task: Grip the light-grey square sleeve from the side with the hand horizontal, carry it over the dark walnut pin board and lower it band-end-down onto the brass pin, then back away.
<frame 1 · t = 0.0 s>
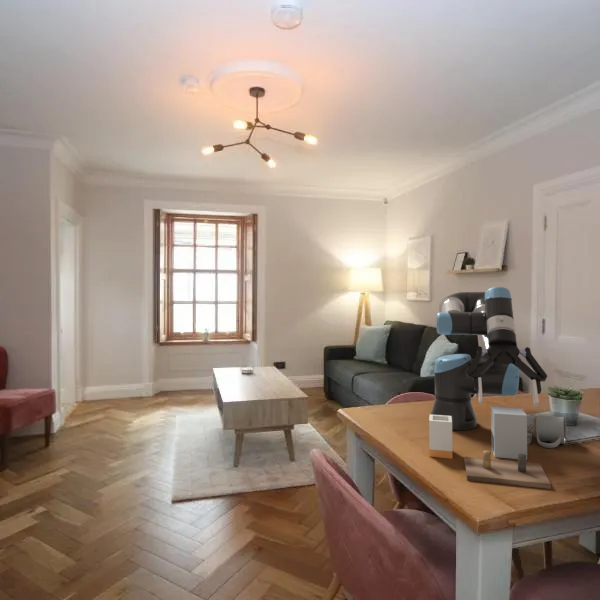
hand: (508, 403, 117), 15 cm above the table, tool tilted 35°, fingers open, 13 cm apart
pin board: (504, 474, 109), on the table
ceramic mug: (550, 443, 130), on the table
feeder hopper: (508, 453, 122), on the table
sleeve: (440, 453, 123), on the table
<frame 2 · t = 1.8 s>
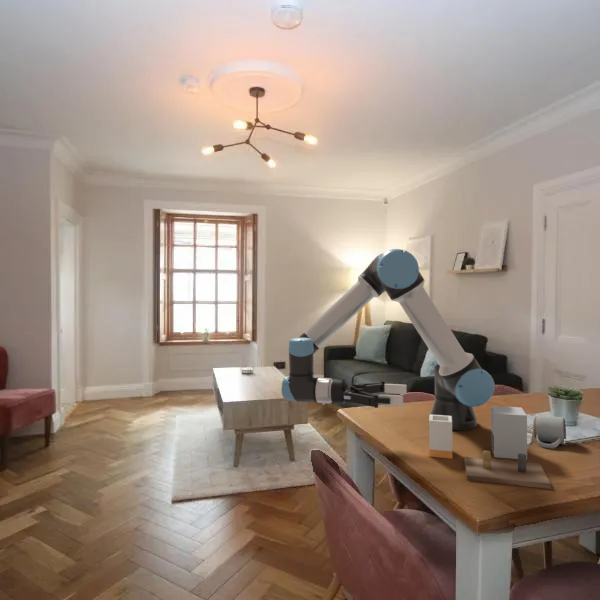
hand: (404, 394, 125), 16 cm above the table, tool horizontal, fingers open, 13 cm apart
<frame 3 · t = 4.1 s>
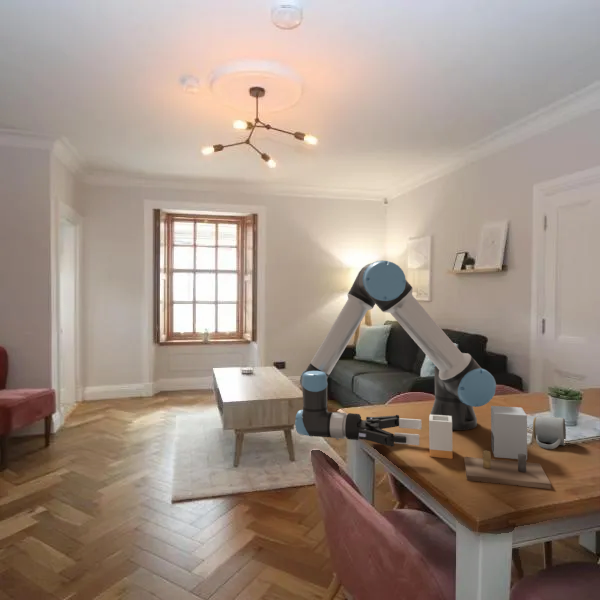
hand: (420, 431, 124), 6 cm above the table, tool horizontal, fingers open, 13 cm apart
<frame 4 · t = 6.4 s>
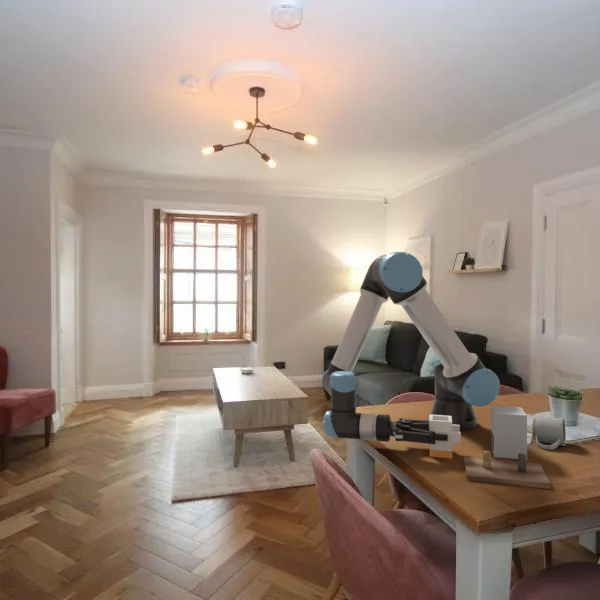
hand: (460, 433, 121), 6 cm above the table, tool horizontal, fingers closed on sleeve, 6 cm apart
sleeve: (440, 453, 123), on the table, touching gripper
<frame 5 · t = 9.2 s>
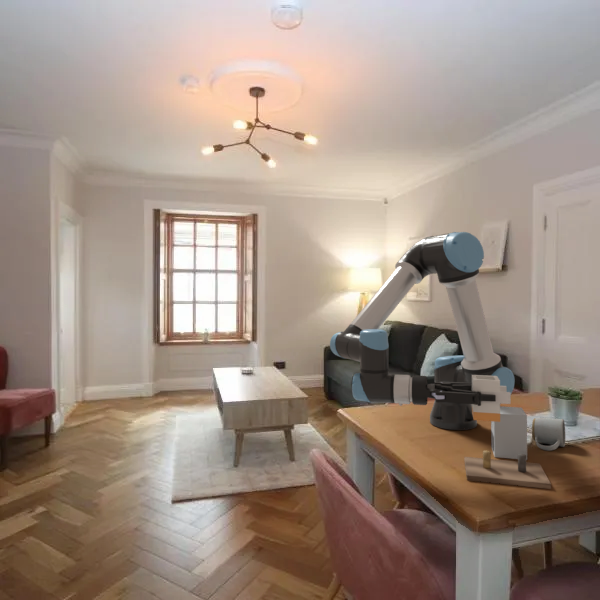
hand: (508, 394, 108), 20 cm above the table, tool horizontal, fingers closed on sleeve, 6 cm apart
sleeve: (485, 417, 110), point 14 cm above the table, touching gripper
when the fingers open (9 cm above the table, at t = 12.1 s): sleeve drops 1 cm, resting on pin board.
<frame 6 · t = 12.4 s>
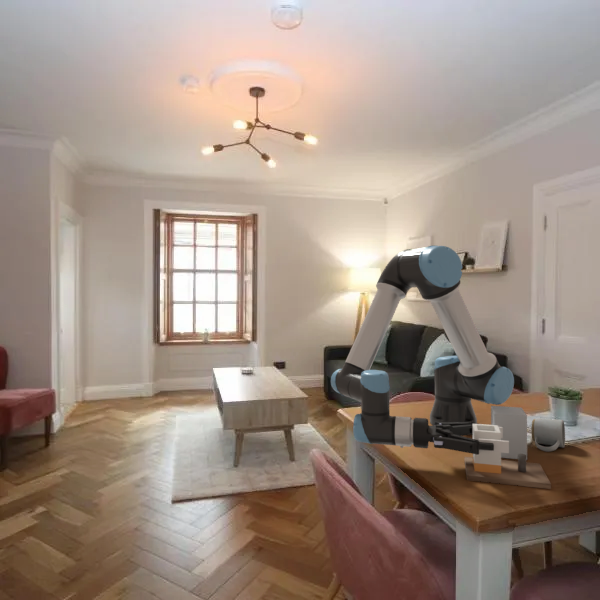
hand: (505, 439, 109), 9 cm above the table, tool horizontal, fingers open, 10 cm apart
sleeve: (486, 467, 110), point 1 cm above the table, touching pin board
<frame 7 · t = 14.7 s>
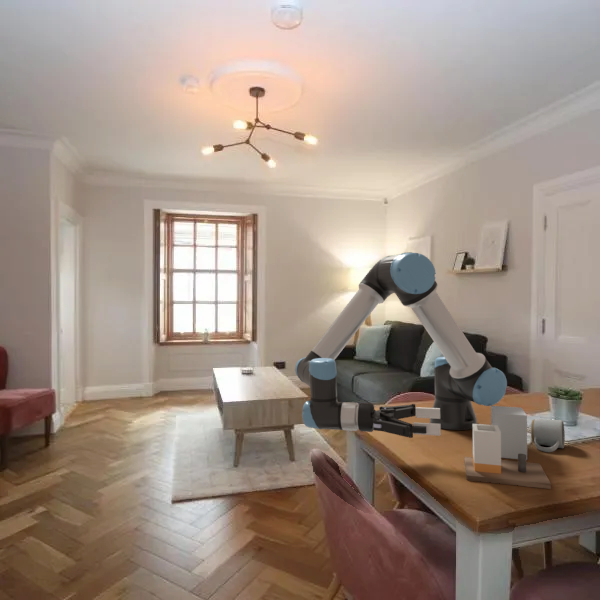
hand: (440, 421, 113), 12 cm above the table, tool horizontal, fingers open, 13 cm apart
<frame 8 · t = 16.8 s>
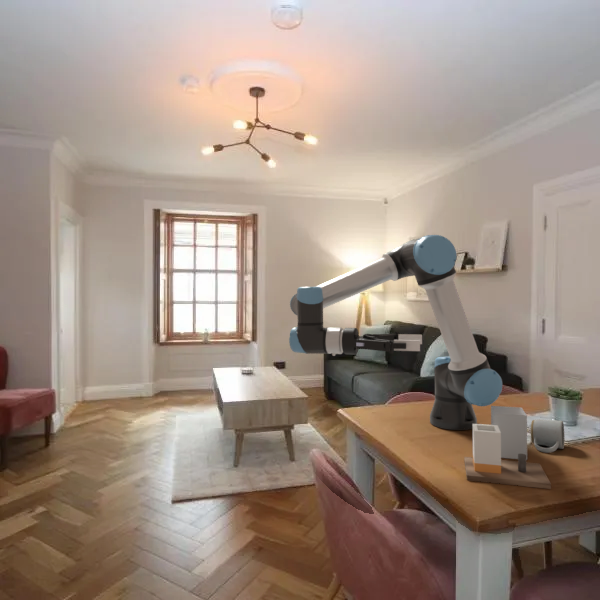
hand: (421, 342, 118), 32 cm above the table, tool horizontal, fingers open, 13 cm apart
at the end: sleeve 0.1 cm from the target spot on the pin board, point 1.2 cm above the pin board's base; sleeve tilted 0°; the gripper is holding nothing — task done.
